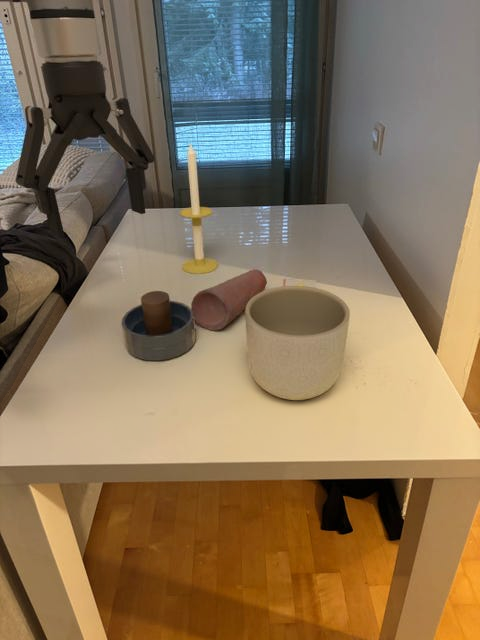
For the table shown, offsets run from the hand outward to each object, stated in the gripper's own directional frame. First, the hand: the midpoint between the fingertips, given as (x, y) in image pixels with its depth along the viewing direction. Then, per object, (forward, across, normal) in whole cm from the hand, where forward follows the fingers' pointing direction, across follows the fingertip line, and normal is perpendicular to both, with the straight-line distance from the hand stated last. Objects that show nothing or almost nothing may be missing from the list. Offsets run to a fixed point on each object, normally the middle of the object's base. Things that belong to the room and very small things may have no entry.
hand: (100, 222), depth 70 cm
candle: (+30, -42, -29) cm, 60 cm away
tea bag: (+30, -38, +9) cm, 49 cm away
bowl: (+30, -12, -7) cm, 33 cm away
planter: (+30, -21, +22) cm, 43 cm away
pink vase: (+30, -32, -4) cm, 44 cm away
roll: (+30, -12, -7) cm, 33 cm away
